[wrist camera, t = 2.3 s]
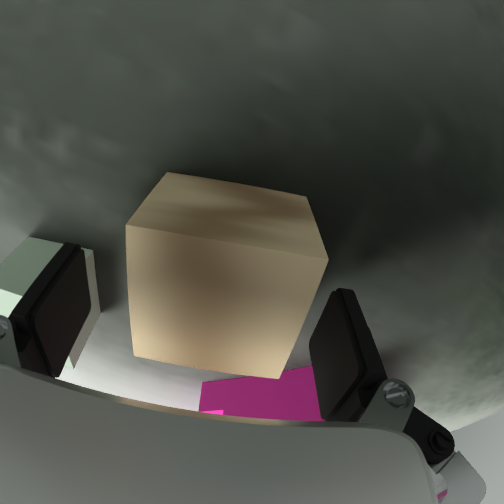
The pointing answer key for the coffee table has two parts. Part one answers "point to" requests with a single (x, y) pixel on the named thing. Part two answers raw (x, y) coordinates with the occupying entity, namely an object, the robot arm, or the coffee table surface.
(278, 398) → the bracket
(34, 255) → the sage cube
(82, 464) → the robot arm
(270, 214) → the oak block
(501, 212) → the coffee table surface
